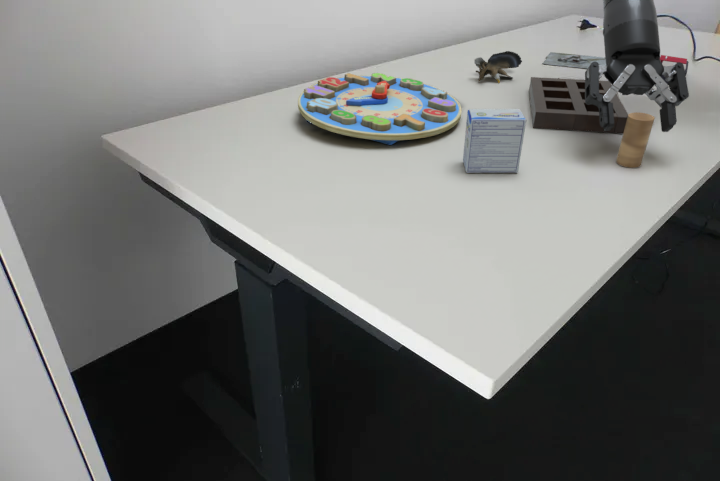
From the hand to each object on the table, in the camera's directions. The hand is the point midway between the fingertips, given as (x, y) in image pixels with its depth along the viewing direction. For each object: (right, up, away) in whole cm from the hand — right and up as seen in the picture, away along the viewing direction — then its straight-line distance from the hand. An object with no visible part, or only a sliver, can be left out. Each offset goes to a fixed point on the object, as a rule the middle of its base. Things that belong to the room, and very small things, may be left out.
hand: (638, 129), depth 80 cm
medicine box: (-22, -6, +3) cm, 22 cm away
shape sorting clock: (-38, +7, +23) cm, 45 cm away
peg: (0, -4, +4) cm, 6 cm away
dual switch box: (+25, +21, +44) cm, 55 cm away
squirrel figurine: (-11, +20, +42) cm, 48 cm away
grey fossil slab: (+8, +29, +56) cm, 63 cm away
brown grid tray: (0, +9, +25) cm, 26 cm away
